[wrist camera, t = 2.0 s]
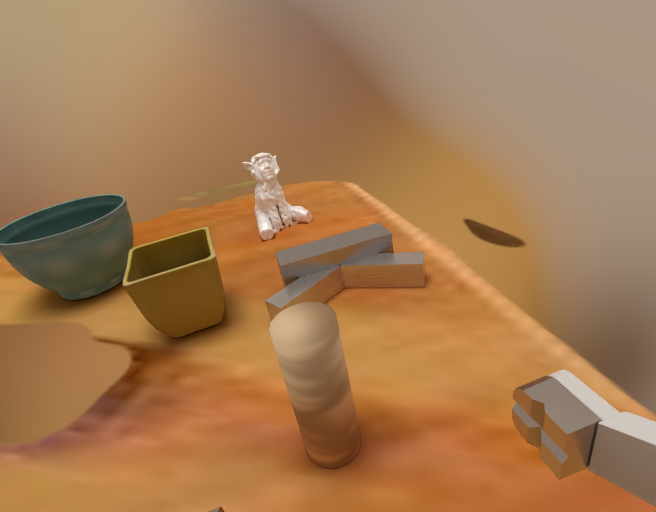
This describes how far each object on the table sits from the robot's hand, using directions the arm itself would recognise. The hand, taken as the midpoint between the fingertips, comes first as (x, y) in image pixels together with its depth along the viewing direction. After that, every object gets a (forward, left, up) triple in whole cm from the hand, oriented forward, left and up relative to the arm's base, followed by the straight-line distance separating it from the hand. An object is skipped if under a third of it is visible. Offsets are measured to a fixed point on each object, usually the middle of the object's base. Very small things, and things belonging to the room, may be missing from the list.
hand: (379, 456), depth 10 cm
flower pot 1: (-25, +51, -16) cm, 59 cm away
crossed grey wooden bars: (+7, +31, -15) cm, 35 cm away
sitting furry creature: (+3, +54, -16) cm, 56 cm away
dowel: (0, +12, -15) cm, 20 cm away
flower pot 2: (-10, +33, -16) cm, 38 cm away
